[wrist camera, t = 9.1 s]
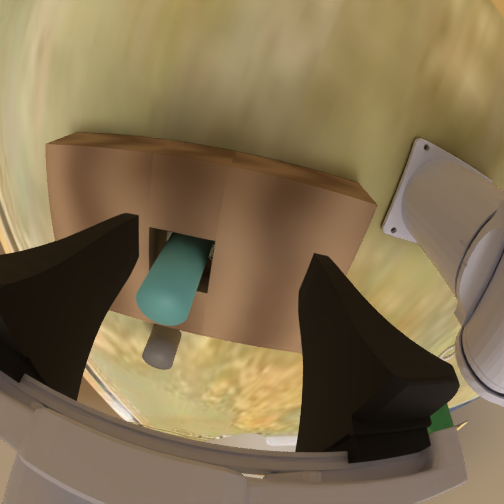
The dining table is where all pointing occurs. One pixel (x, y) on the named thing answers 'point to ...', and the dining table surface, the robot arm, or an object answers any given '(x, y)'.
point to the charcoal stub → (161, 347)
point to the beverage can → (440, 420)
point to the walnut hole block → (213, 224)
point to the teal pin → (174, 279)
